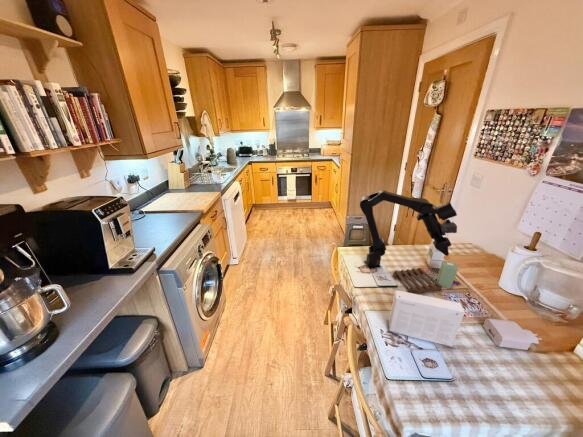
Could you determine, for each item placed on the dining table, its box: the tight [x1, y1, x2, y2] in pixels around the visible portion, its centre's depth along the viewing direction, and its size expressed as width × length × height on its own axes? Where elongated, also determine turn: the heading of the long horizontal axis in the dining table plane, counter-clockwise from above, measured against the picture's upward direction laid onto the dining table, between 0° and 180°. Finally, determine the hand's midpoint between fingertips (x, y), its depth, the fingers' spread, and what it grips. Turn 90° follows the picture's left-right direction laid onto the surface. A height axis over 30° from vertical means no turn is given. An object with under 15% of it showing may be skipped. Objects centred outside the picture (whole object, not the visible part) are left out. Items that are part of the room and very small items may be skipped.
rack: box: [392, 267, 443, 295], centre depth 111 cm, size 16×14×3 cm
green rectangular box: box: [436, 259, 458, 289], centre depth 109 cm, size 6×6×12 cm
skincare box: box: [388, 289, 466, 348], centre depth 83 cm, size 21×5×16 cm, turn 71°
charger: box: [483, 318, 543, 351], centre depth 83 cm, size 5×9×15 cm
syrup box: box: [425, 238, 445, 269], centre depth 122 cm, size 6×6×14 cm
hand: (444, 250), depth 111 cm, fingers open, 9 cm apart
